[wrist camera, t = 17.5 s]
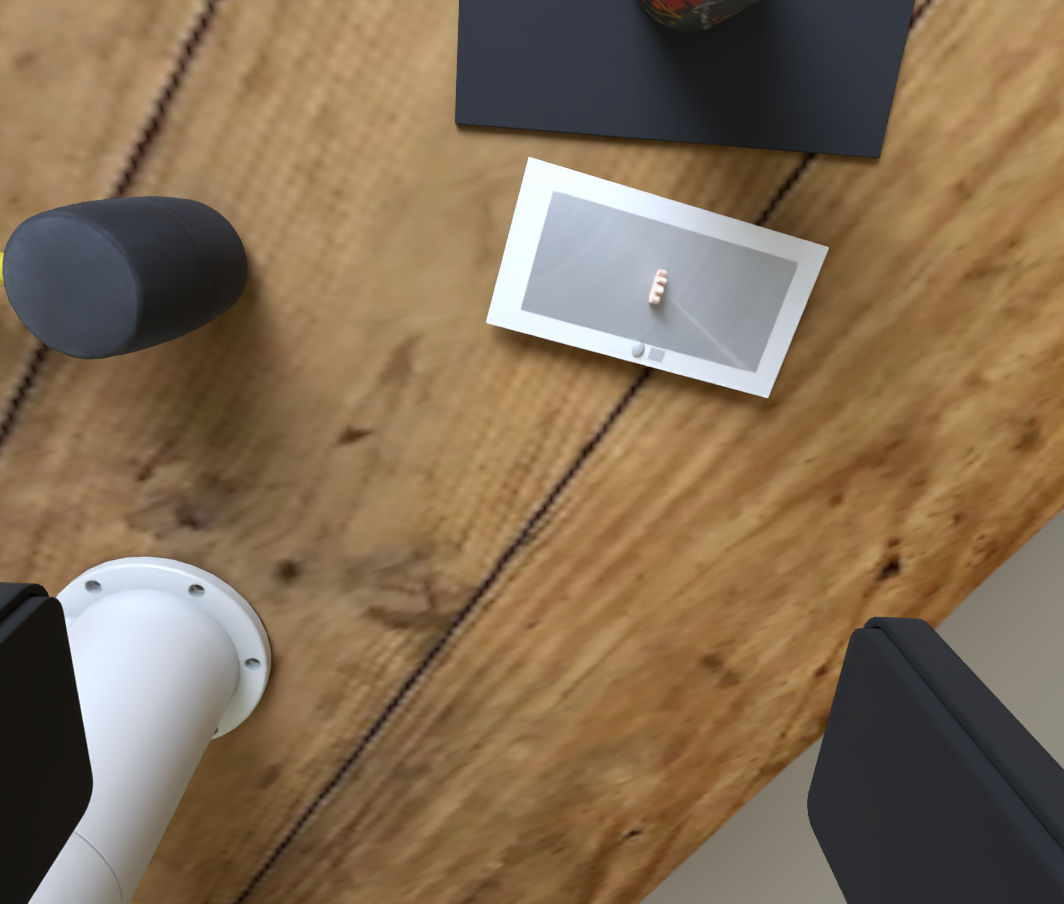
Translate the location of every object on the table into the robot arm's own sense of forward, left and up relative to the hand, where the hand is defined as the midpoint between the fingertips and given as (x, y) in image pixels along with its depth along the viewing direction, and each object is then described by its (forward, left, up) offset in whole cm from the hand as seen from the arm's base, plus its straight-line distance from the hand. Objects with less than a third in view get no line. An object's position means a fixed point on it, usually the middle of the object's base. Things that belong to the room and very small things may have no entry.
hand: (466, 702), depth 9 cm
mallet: (-26, 0, -31) cm, 40 cm away
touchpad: (+8, +1, -31) cm, 32 cm away
